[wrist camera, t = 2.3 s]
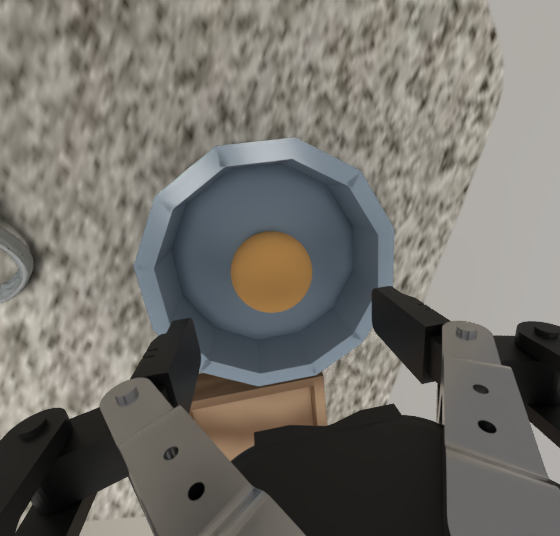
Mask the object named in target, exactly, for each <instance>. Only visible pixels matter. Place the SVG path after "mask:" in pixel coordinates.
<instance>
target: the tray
mask: <svg viewBox="0 0 560 536" xmlns="http://www.w3.org/2000/svg"><path fill="white" fill-rule="evenodd" d="M189 415H190V416H191V417H192V418H193V420H194V421H195V422H196V423H197V424H198V425H199V426H200V428H201V429H202V430H203V431H204V432H205V433H206V434H207V435H208V437H209V438H210V439H211V440H212V441H213V442H214V443H215V444H216V446H217V447H218V448H219V449H220V450H221V451H222V452H223V454H224V455H225V456H226V457H227V458H228V459H229V460H230V461H231V460H232V459H234V458H235V457H236V456H237V455H239V454H240V453H242V452H243V451H245V450H247V449H248V448H250V447H252V446H254V432H258V431H263V430H268V429H272V428H277V427H282V426H287V425H310V426H327V418H326V405H325V392H324V379H323V374H322V372H320V373H318V374H317V375H314V376H309V377H304V378H299V379H294V380H289V381H284V382H279V383H273V384H268V385H263V386H255V385H251V384H247V383H243V382H238V381H234V380H230V379H226V378H222V377H218V376H214V375H210V374H206V373H203V374H198V378H197V382H196V387H195V391H194V395H193V400H192V404H191V408H190V413H189Z"/></svg>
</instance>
